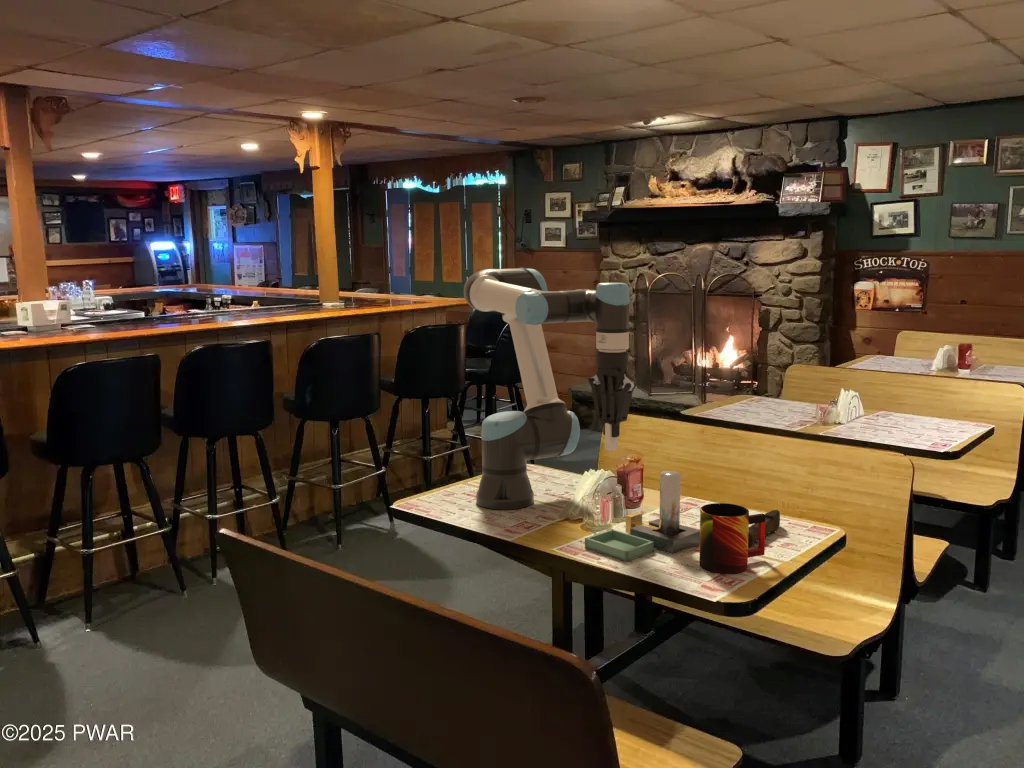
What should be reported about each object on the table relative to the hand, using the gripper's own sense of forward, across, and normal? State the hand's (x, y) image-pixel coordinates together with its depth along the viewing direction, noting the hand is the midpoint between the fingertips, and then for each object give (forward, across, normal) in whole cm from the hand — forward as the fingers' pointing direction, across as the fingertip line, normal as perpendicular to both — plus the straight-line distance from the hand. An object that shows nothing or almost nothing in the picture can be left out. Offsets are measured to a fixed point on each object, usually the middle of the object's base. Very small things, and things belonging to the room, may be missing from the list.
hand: (611, 449), depth 196 cm
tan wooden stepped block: (+18, +10, 0) cm, 21 cm away
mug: (+18, +34, -1) cm, 38 cm away
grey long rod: (+18, +18, 0) cm, 25 cm away
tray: (+18, +13, -11) cm, 25 cm away
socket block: (+18, +17, 0) cm, 25 cm away
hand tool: (+19, +28, +19) cm, 39 cm away
